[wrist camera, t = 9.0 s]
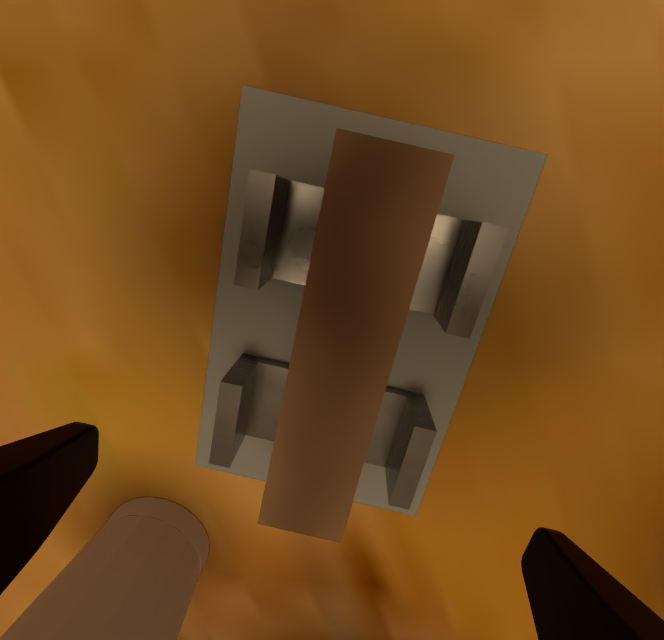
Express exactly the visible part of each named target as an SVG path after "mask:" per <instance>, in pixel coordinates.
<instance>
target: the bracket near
mask: <svg viewBox="0 0 664 640" xmlns="http://www.w3.org/2000/svg"><path fill="white" fill-rule="evenodd" d="M324 189H325V188H322V187H318V186H314V185H309V184H305V183H301V182H296V181H292V180H288V179H285V178H283V177H280V176H277V175H274V174H270V173H265V172H261V171H256V170H252V169H249V176H248V184H247V191H246V198H245V205H244V213H243V220H242V227H241V235H240V242H239V249H238V256H237V264H236V271H235V278H234V285H237V286H241V287H246V288H250V289H254V290H259V289H260V288H261V287H262V286H263V285H265V284H266V283H267V282H268V281H270V280H271V279H272V278H274V279H279V280H283V281H287V282H292V283H296V284H301V285H305V284H306V279H307V274H308V269H309V264H310V259H311V254H312V249H313V244H314V239H315V234H316V229H317V224H318V219H319V214H320V209H321V204H322V199H323V194H324ZM508 230H509V228H506V227H502V226H497V225H493V224H489V223H484V222H478V221H470V220H463V219H458V218H454V217H449V216H445V215H441V214H437V216H436V220H435V223H434V227H433V230H432V233H431V237H430V240H429V244H428V247H427V251H426V254H425V257H424V261H423V264H422V268H421V271H420V274H419V278H418V281H417V285H416V288H415V291H414V295H413V298H412V302H411V305H410V308H409V309H410V310H414V311H418V312H423V313H427V314H431V315H433V316H434V317H435V319H436V320H437V321H438V323H439V324H440V326H441V327H442V329H443V330H444V332H445V333H446V334H450V335H455V336H459V337H463V338H468V339H470V337H471V334H472V331H473V329H474V326H475V323H476V320H477V317H478V315H479V312H480V309H481V306H482V303H483V300H484V298H485V295H486V292H487V289H488V286H489V284H490V281H491V278H492V275H493V272H494V269H495V267H496V264H497V261H498V258H499V255H500V253H501V250H502V247H503V244H504V241H505V239H506V236H507V233H508Z"/></svg>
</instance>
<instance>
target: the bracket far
mask: <svg viewBox="0 0 664 640" xmlns="http://www.w3.org/2000/svg"><path fill="white" fill-rule="evenodd" d="M288 369H289V363H285V362H280V361H276V360H272V359H267V358H263V357H259V356H254V355H250V354H246V353H242V355H241V356H240V357H239V359H238V360H237V361H236V362H235V364H234V365H233V366H232V367H231V369H230V370H229V371H228V372H227V374H226V375H225V376H224V377H223V379H222V380H221V381H220V387H219V394H218V401H217V409H216V416H215V423H214V430H213V438H212V445H211V452H210V459H209V464H213V465H218V466H222V467H226V468H230V466H231V464H232V462H233V460H234V458H235V456H236V454H237V452H238V450H239V448H240V446H241V444H242V442H243V440H244V438H245V436H246V435H247V436H251V437H256V438H260V439H264V440H269V441H273V442H274V439H275V434H276V429H277V424H278V419H279V414H280V409H281V404H282V399H283V394H284V389H285V384H286V379H287V374H288ZM436 433H437V430H436V427H435V424H434V421H433V419H432V416H431V413H430V410H429V407H428V404H427V401H426V398H425V395H424V394H419V393H415V392H411V391H406V390H402V389H398V388H393V387H389V386H387V387H386V390H385V393H384V397H383V400H382V404H381V407H380V410H379V414H378V417H377V421H376V424H375V427H374V431H373V434H372V438H371V441H370V444H369V448H368V451H367V455H366V458H365V461H364V463H368V464H373V465H377V466H381V467H385V473H386V484H387V494H388V504H389V505H390V506H395V507H399V508H403V509H408V510H409V509H410V506H411V503H412V500H413V497H414V495H415V492H416V489H417V486H418V483H419V481H420V478H421V475H422V472H423V469H424V466H425V464H426V461H427V458H428V455H429V452H430V450H431V447H432V444H433V441H434V438H435V436H436Z"/></svg>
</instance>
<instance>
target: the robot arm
mask: <svg viewBox="0 0 664 640" xmlns="http://www.w3.org/2000/svg"><path fill="white" fill-rule="evenodd" d="M98 441H99V432H98V428H97V427H96V426H94V425H90V424H86V423H81V422H73V423H70V424H67V425H64V426H61V427H58V428H55V429H51V430H48V431H45V432H42V433H39V434H36V435H33V436H30V437H27V438H24V439H21V440H18V441H15V442H12V443H9V444H6V445H3V446H0V595H1V594H2V592H3V591H4V590H5V589H6V588H7V586H8V585H9V584H10V583H11V582H12V580H13V579H14V578H15V577H16V576H17V575H18V573H19V572H20V571H21V570H22V569H23V567H24V566H25V565H26V564H27V563H28V561H29V560H30V559H31V558H32V557H33V555H34V554H35V553H36V552H37V550H38V549H39V548H40V547H41V545H42V544H43V543H44V541H45V540H46V538H47V537H48V536H49V534H50V533H51V532H52V530H53V529H54V527H55V526H56V524H57V523H58V522H59V520H60V519H61V517H62V516H63V515H64V513H65V512H66V510H67V509H68V507H69V506H70V505H71V503H72V502H73V500H74V499H75V497H76V496H77V495H78V493H79V492H80V490H81V489H82V487H83V486H84V485H85V483H86V482H87V480H88V479H89V477H90V476H91V475H92V473H93V472H94V470H95V468H96V465H97V462H98ZM521 567H522V573H523V577H524V581H525V585H526V590H527V594H528V598H529V602H530V606H531V610H532V615H533V619H534V623H535V627H536V631H537V635H538V639H539V640H664V620H662V619H661V618H660V617H659V616H658V615H657V614H655V613H654V612H653V611H652V610H651V609H650V608H649V607H647V606H646V605H645V604H644V603H643V602H642V601H640V600H639V599H638V598H637V597H636V596H635V595H634V594H632V593H631V592H630V591H629V590H628V589H627V588H625V587H624V586H623V585H622V584H621V583H620V582H619V581H617V580H616V579H615V578H614V577H613V576H612V575H610V574H609V573H608V572H607V571H606V570H605V569H603V568H602V567H601V566H600V565H599V564H598V563H597V562H595V561H594V560H593V559H592V558H591V557H590V556H588V555H587V554H586V553H585V552H584V551H583V550H582V549H580V548H579V547H578V546H577V545H576V544H575V543H573V542H572V541H571V540H570V539H569V538H568V537H567V536H565V535H564V534H563V533H561V532H559V531H556V530H552V529H548V528H543V527H541V528H538V529H536V530H535V532H534V534H533V536H532V538H531V540H530V542H529V544H528V546H527V548H526V550H525V552H524V554H523V556H522V561H521Z"/></svg>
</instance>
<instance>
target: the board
mask: <svg viewBox="0 0 664 640" xmlns="http://www.w3.org/2000/svg"><path fill="white" fill-rule="evenodd" d="M336 128H339V129H344V130H348V131H353V132H357V133H361V134H366V135H370V136H375V137H379V138H383V139H388V140H392V141H396V142H401V143H405V144H410V145H414V146H418V147H423V148H427V149H432V150H436V151H440V152H445V153H449V154H453V155H454V159H453V162H452V165H451V169H450V172H449V176H448V179H447V182H446V186H445V189H444V193H443V196H442V199H441V203H440V206H439V210H438V213H437V214H441V215H445V216H449V217H454V218H458V219H463V220H470V221H478V222H484V223H489V224H493V225H497V226H502V227H506V228H509V230H508V233H507V236H506V239H505V241H504V244H503V247H502V250H501V253H500V255H499V258H498V261H497V264H496V267H495V269H494V272H493V275H492V278H491V281H490V284H489V286H488V289H487V292H486V295H485V298H484V300H483V303H482V306H481V309H480V312H479V315H478V317H477V320H476V323H475V326H474V329H473V331H472V334H471V337H470V339H468V338H463V337H459V336H455V335H450V334H446V333H445V332H444V330H443V329H442V327H441V326H440V324H439V323H438V321H437V320H436V319H435V317H434V316H433V315H431V314H427V313H423V312H418V311H414V310H410V309H409V312H408V315H407V319H406V322H405V325H404V329H403V332H402V336H401V339H400V342H399V346H398V349H397V353H396V356H395V359H394V363H393V366H392V370H391V373H390V376H389V380H388V383H387V386H389V387H393V388H398V389H402V390H406V391H411V392H415V393H419V394H424V395H425V398H426V401H427V404H428V407H429V410H430V413H431V416H432V419H433V421H434V424H435V427H436V430H437V433H436V436H435V438H434V441H433V444H432V447H431V450H430V452H429V455H428V458H427V461H426V464H425V466H424V469H423V472H422V475H421V478H420V481H419V483H418V486H417V489H416V492H415V495H414V497H413V500H412V503H411V506H410V509H409V510H408V509H403V508H399V507H395V506H390V505H389V504H388V494H387V484H386V473H385V467H381V466H377V465H373V464H368V463H364V465H363V468H362V472H361V475H360V479H359V482H358V485H357V489H356V492H355V496H354V499H353V502H357V503H361V504H365V505H370V506H374V507H378V508H383V509H387V510H391V511H395V512H400V513H404V514H408V515H413V516H416V514H417V511H418V509H419V506H420V503H421V500H422V498H423V495H424V492H425V489H426V487H427V484H428V481H429V478H430V476H431V473H432V470H433V467H434V465H435V462H436V459H437V456H438V454H439V451H440V448H441V446H442V443H443V440H444V437H445V435H446V432H447V429H448V426H449V424H450V421H451V418H452V415H453V413H454V410H455V407H456V404H457V402H458V399H459V396H460V393H461V391H462V388H463V385H464V382H465V380H466V377H467V374H468V371H469V369H470V366H471V363H472V361H473V358H474V355H475V352H476V350H477V347H478V344H479V341H480V339H481V336H482V333H483V330H484V328H485V325H486V322H487V319H488V317H489V314H490V311H491V308H492V306H493V303H494V300H495V297H496V295H497V292H498V289H499V287H500V284H501V281H502V278H503V276H504V273H505V270H506V267H507V265H508V262H509V259H510V256H511V254H512V251H513V248H514V245H515V243H516V240H517V237H518V234H519V232H520V229H521V226H522V223H523V221H524V218H525V215H526V212H527V210H528V207H529V204H530V202H531V199H532V196H533V193H534V191H535V188H536V185H537V182H538V180H539V177H540V174H541V171H542V169H543V166H544V163H545V160H546V158H547V155H548V154H544V153H539V152H535V151H531V150H526V149H522V148H517V147H513V146H509V145H504V144H500V143H495V142H491V141H487V140H482V139H478V138H473V137H469V136H465V135H460V134H456V133H452V132H447V131H443V130H438V129H434V128H430V127H425V126H421V125H416V124H412V123H408V122H403V121H399V120H394V119H390V118H386V117H381V116H377V115H372V114H368V113H364V112H359V111H355V110H350V109H346V108H342V107H337V106H333V105H328V104H324V103H320V102H315V101H311V100H307V99H302V98H298V97H293V96H289V95H285V94H280V93H276V92H271V91H267V90H263V89H258V88H254V87H249V86H245V85H242V92H241V101H240V109H239V117H238V125H237V133H236V141H235V149H234V157H233V165H232V173H231V181H230V189H229V197H228V205H227V213H226V221H225V229H224V237H223V245H222V253H221V262H220V270H219V278H218V286H217V294H216V302H215V310H214V318H213V326H212V334H211V342H210V350H209V358H208V366H207V374H206V382H205V390H204V398H203V406H202V414H201V422H200V431H199V439H198V447H197V455H196V463H195V465H197V466H201V467H205V468H210V469H214V470H218V471H223V472H227V473H231V474H236V475H240V476H244V477H249V478H253V479H257V480H262V481H266V480H267V475H268V470H269V465H270V460H271V455H272V450H273V445H274V442H273V441H269V440H264V439H260V438H256V437H251V436H247V435H246V436H245V438H244V440H243V442H242V444H241V446H240V448H239V450H238V452H237V454H236V456H235V458H234V460H233V462H232V464H231V466H230V468H226V467H222V466H218V465H213V464H209V459H210V452H211V445H212V438H213V430H214V423H215V416H216V409H217V401H218V394H219V387H220V381H221V380H222V379H223V377H224V376H225V375H226V374H227V372H228V371H229V370H230V369H231V367H232V366H233V365H234V364H235V362H236V361H237V360H238V359H239V357H240V356H241V355H242V353H246V354H250V355H254V356H259V357H263V358H267V359H272V360H276V361H280V362H285V363H289V364H290V359H291V354H292V349H293V344H294V339H295V334H296V329H297V324H298V319H299V314H300V309H301V304H302V299H303V294H304V289H305V285H301V284H296V283H292V282H287V281H283V280H279V279H274V278H272V279H271V280H270V281H268V282H267V283H266V284H265V285H263V286H262V287H261V288H260V289H259V290H254V289H250V288H246V287H241V286H237V285H234V278H235V271H236V264H237V256H238V249H239V242H240V235H241V227H242V220H243V213H244V205H245V198H246V191H247V184H248V176H249V169H252V170H256V171H261V172H265V173H270V174H274V175H277V176H280V177H283V178H285V179H288V180H292V181H296V182H301V183H305V184H309V185H314V186H318V187H322V188H325V184H326V179H327V173H328V168H329V163H330V158H331V153H332V148H333V143H334V138H335V133H336Z"/></svg>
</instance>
